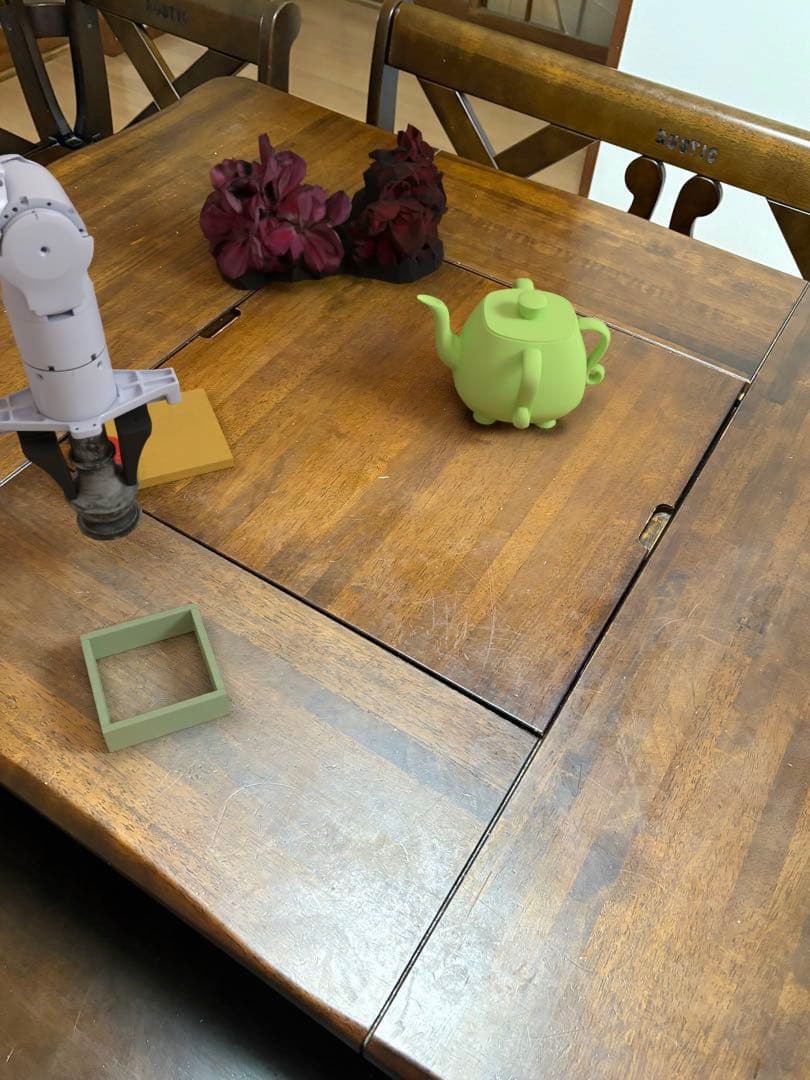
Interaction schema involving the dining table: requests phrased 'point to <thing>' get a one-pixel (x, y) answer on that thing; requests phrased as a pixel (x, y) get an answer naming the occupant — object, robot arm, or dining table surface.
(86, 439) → the chess piece
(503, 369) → the teapot
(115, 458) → the stop button
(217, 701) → the green square tray
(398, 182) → the flower arrangement
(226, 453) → the control block
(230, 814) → the dining table surface
